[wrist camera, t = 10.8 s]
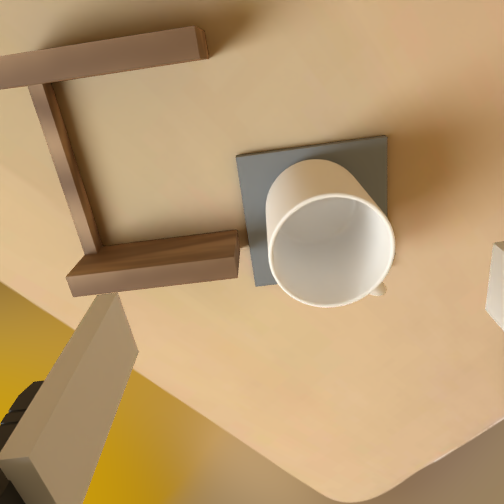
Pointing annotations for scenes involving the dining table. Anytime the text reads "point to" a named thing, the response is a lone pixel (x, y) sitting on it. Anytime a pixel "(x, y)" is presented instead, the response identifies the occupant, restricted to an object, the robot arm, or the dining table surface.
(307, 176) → the mug
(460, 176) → the dining table surface
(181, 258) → the frame
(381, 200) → the coaster
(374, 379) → the dining table surface
